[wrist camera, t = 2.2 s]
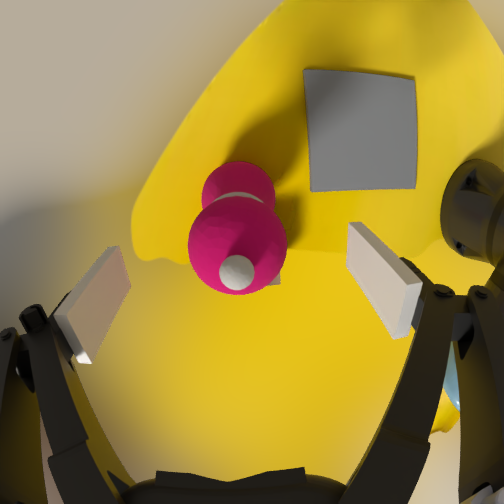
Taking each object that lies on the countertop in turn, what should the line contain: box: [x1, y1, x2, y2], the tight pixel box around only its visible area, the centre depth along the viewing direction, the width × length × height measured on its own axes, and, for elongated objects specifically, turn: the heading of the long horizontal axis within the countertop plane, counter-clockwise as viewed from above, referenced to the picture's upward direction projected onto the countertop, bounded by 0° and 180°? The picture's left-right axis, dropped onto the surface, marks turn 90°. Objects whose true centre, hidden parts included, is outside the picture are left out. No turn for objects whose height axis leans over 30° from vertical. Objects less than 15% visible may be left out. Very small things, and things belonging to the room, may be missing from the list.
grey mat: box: [303, 69, 417, 192], centre depth 29 cm, size 14×14×1 cm
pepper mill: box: [188, 161, 287, 295], centre depth 23 cm, size 7×7×20 cm
